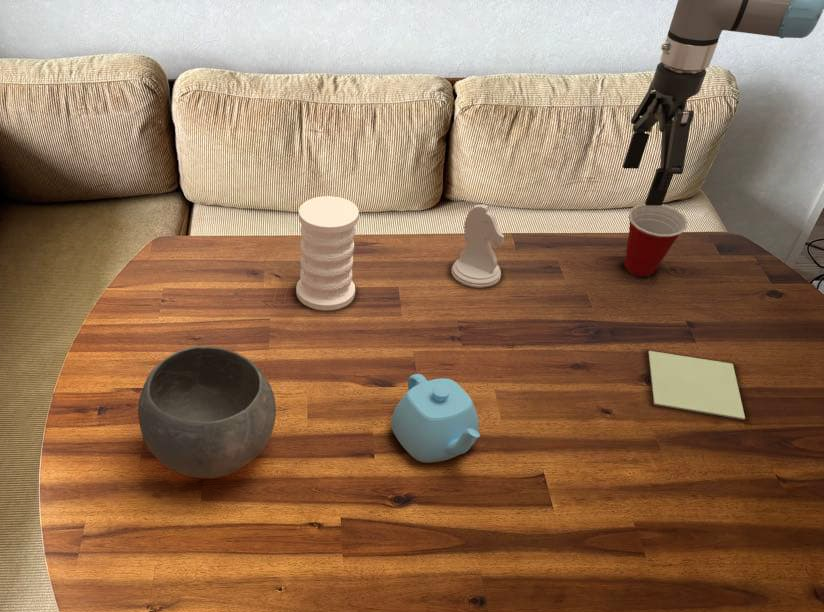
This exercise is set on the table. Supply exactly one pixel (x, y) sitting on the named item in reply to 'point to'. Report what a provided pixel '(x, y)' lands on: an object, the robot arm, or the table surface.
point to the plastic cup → (651, 236)
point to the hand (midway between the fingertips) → (641, 185)
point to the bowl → (206, 411)
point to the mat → (695, 385)
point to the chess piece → (479, 250)
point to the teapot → (435, 419)
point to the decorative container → (327, 252)
